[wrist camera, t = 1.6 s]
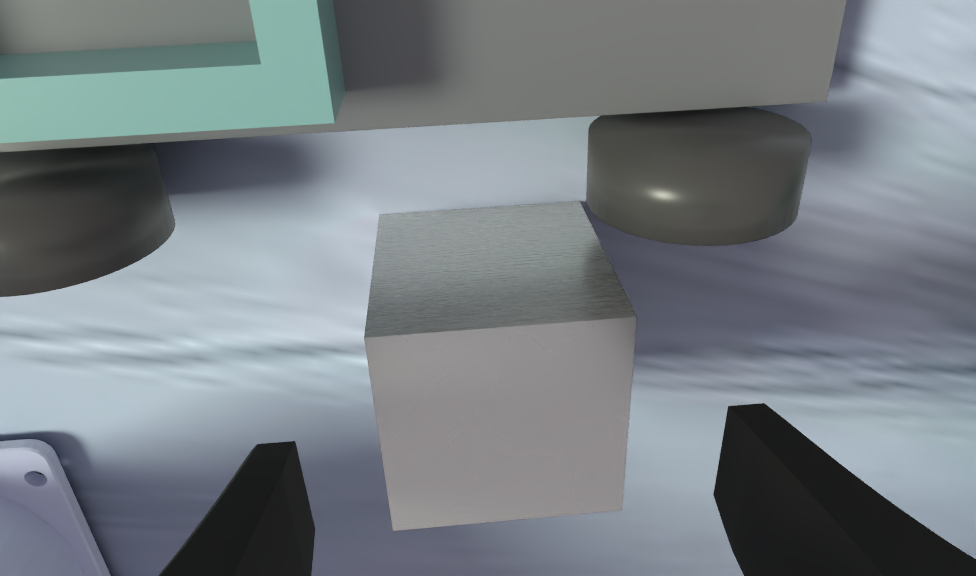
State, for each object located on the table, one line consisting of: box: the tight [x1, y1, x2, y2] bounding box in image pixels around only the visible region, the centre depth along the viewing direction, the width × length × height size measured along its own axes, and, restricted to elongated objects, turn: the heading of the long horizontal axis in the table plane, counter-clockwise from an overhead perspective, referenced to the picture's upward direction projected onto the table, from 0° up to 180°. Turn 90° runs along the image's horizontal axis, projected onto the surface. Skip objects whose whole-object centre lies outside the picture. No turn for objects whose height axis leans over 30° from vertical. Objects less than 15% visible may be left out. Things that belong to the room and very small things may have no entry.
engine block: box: [364, 201, 637, 531], centre depth 15 cm, size 4×4×5 cm
